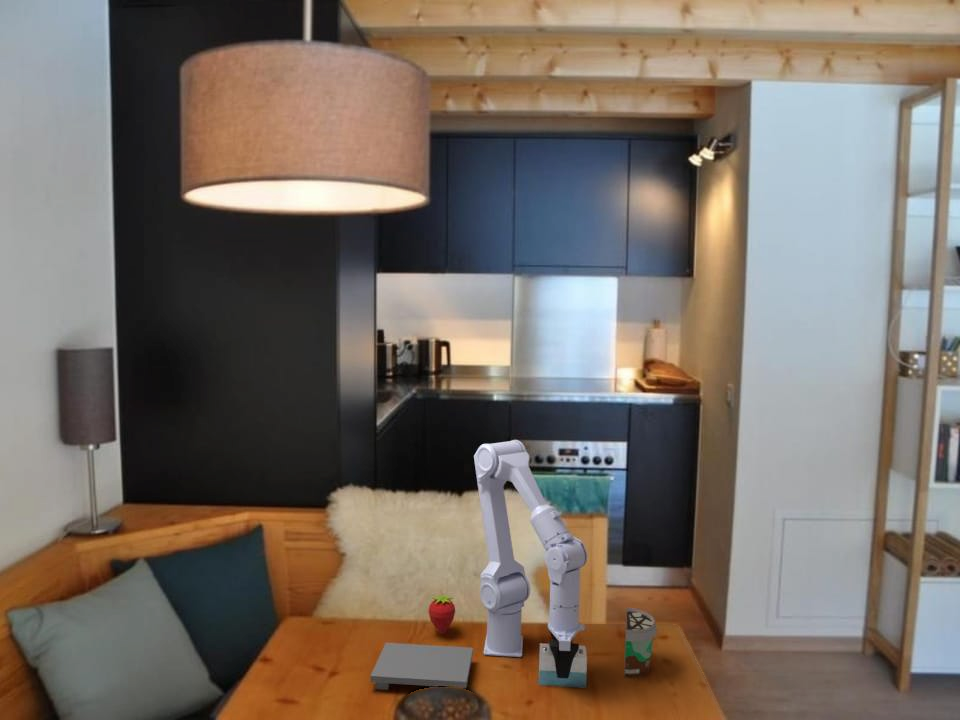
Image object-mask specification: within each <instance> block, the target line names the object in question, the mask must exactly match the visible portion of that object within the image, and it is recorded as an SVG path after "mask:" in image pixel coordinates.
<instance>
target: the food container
mask: <svg viewBox="0 0 960 720" xmlns="http://www.w3.org/2000/svg"><path fill="white" fill-rule="evenodd" d="M625 613H626V618H625V637H624V639H625V641H624V673H623V674H624V675H623V677H624V678H639V677H643V676H645V675H647V674H649V673H650V666H651V658H652V650H653V649H652V648H653V642H654V641H653V640H654V638H655V637H656V635H657V634H658V628H657V624H656V621H655V618H654V617H653V616H652V615H651V614H649V613H647V612H646V611H643V610H640V609H637V608H632V607H626V611H625Z"/></svg>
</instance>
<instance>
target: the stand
mask: <svg viewBox="0 0 960 720" xmlns="http://www.w3.org/2000/svg"><path fill="white" fill-rule="evenodd" d="M473 652H474V648H473V647H468V646H465V647H464V646H463V647H462V646H451V645H450V646H449V645H448V646H447V645H446V646H445V645H433V644H432V645H431V644H413V643H401V642H400V643H397V642H385V644H384V646H383V647H382V651H381V652H380V654H379V657H378V659H377V661H376V663H375V666H374V668H373V669H372V671H371V674H370V678H369V679H370V681H369V682H370V683H375V690H385V691H386V690H387V691H389V688H390V687H391V684H392V685H394V684H395V685H408V686H409V685H411V686H424V687H425V686H426V687H438V686H456V687H462V688H463V689H467V686H468V680H469V675H470V669H471V664H472V658H473V655H474V653H473Z"/></svg>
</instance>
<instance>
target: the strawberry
mask: <svg viewBox="0 0 960 720" xmlns="http://www.w3.org/2000/svg"><path fill="white" fill-rule="evenodd" d="M438 591H439V592H440V593H441V594H442V595H441V597H438V596H432V597H431V596H429V599H432V600H433V601H432V602H431V603H429V606H428V615H429V620H430V622H431V624H432V625H433V626H434V628H435V629H436V630H437V632H438V634H440V635H441V636H443V635H444V634H445V633H446V632H447V630H448V629H449V628H450V626H451V624H452V622H453V621H454V617H455V614H456V607H455V603H453V601H452V600H453V599H454V598H453V597H448V596H446V594H444V593H443V592H442V591H441V590H440V589H438Z"/></svg>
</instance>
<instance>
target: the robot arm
mask: <svg viewBox="0 0 960 720" xmlns="http://www.w3.org/2000/svg"><path fill="white" fill-rule="evenodd" d="M530 458H531V456H530V455H529V453H528V452H527V450H526V446H525V445H524V444H523V442H521V441H520V440H518V439H513V440H510V441H509V440H508V441H502V442H501V441H500V442H495V443H483V444H481V445H480V446H478V448H477V450H476V452H475V454H474V455H473V459H474V466H475V474H476V482H477V488H478V489H477V490H478V494H479V495H478V496H479V502H480V509H481V517H482V523H483V530H484V536H485V537H484V538H485V543H486V549H487V557H488V564H487V566H486V567H484V569H483V571H482V572H481V574H480V576H479V577H480V589H479V598H480V600H481V604H483V606H484V608H485V609H486V610H487V620H486V622H487V623H486V624H487V626H486V635H485V636H486V637H485V641H484V648H483V655H485V656H495V657H498V656H499V657H512V658H513V657H514V658H521V657H522V656H523V647H524V646H523V645H524V644H523V641H524V636H523V635H522V634H521V633H522V608H523V607H525V602H526V601H527V600H528V599H529V598H530V594H531V585H530V581H529V579H528V577H527V575H526V571H525V567H524V566H523V564H521V563H519V562H518V561H517V560H515V555H514V549H513V541H512V536H511V528H510V522H509V516H508V509H507V502H506V497H505V490H504V486H505V484H506V483H507V481H508V482H509V483H510V482H511V483H512V484H513V486H514V488H515V489H516V490H517V492H518V494H519V495H520V497H521V498H522V500H523V502H524V503H525V504H526V506H527V507H528V509H529V511H530V512H531V515H530V524H531V526H532V528H533V529H534V531H535V533H536V536H537V537H538V538H539V541H540V542H541V545H543V548H544V550H545V551H546V553H545V554H543V555H544V558H543V559H544V562H545V566H546V568H547V572H548V575H547V576H548V579H549V582H550V583H549V585H550V586H549V587H550V588H549V610H548V611H549V613H548V614H549V617H548V623H547V628H548V629H547V630H548V631H549V634H550V636H551V639H549V640H548V644H549V647H550V649H551V651H552V654H553V656H554V660H555V667H556V674H557V677H558V678H568V677H569V674H570V670H571V666H572V662H573V659H574V657H575V655H576V653H577V652H578V649H579V646H580V643H576V642H575V643H574V642H573V641H574V640H575V639H574V638H575V637H576V636H577V634H578V633H579V632H581V631H582V632H584V631H585V630H586V629H585V623H582V622H581V623H580V621H579V620H580V591H581V569H582V568H583V567H584V566H585V565H586V563H587V561H588V552H587V551H588V550H587V549H586V546H585V543H584V541H582V540H581V539H579V538H577V537H575V536H574V534H572V533H570V531H569V530H568V528H567V526H566V524H565V522H564V521H563V519H562V517H561V514H560V513H559V511H558V510H557V509H556V507H554V506H552V505H548V504H547V502H546V500H545V498H544V496H543V494H542V491H541V489H540V488H539V485H538V483H537V481H536V479H535V476H534V475H533V472H532V471H531V468H530V466H529V465H530V461H531V459H530Z"/></svg>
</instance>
